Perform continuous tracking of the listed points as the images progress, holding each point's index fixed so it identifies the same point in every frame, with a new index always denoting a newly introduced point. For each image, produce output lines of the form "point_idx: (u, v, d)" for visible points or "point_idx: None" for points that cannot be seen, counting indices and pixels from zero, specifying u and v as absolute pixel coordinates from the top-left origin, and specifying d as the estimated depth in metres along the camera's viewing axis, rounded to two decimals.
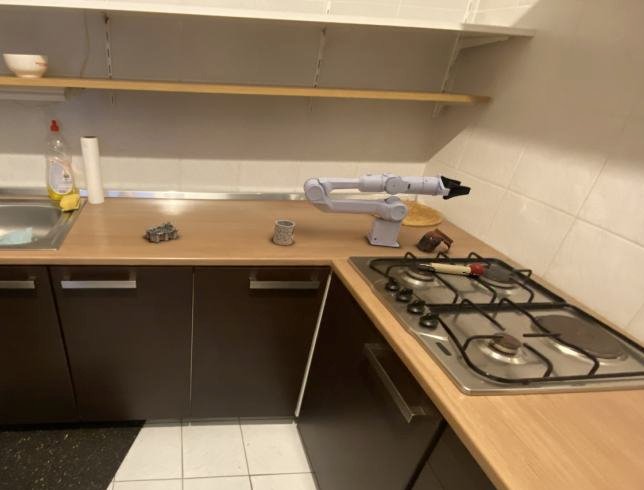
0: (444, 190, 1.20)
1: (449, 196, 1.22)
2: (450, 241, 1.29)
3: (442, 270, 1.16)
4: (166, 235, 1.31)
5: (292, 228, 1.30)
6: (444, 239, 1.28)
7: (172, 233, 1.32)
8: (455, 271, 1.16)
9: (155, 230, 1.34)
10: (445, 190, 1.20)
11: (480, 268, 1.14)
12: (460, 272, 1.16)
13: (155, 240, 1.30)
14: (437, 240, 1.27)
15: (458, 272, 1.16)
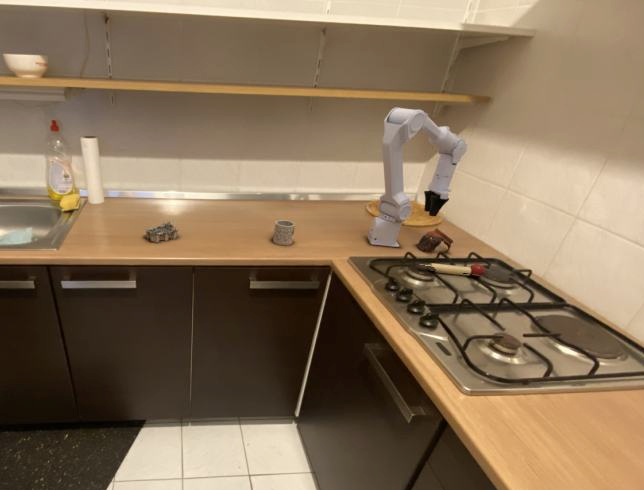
0: (447, 194, 1.28)
1: (435, 200, 1.32)
2: (450, 241, 1.29)
3: (442, 271, 1.16)
4: (166, 235, 1.31)
5: (292, 228, 1.30)
6: (444, 239, 1.28)
7: (172, 233, 1.32)
8: (455, 272, 1.16)
9: (155, 230, 1.34)
10: (447, 195, 1.28)
11: (480, 270, 1.13)
12: (460, 273, 1.16)
13: (155, 240, 1.30)
14: (437, 240, 1.27)
15: (458, 273, 1.16)
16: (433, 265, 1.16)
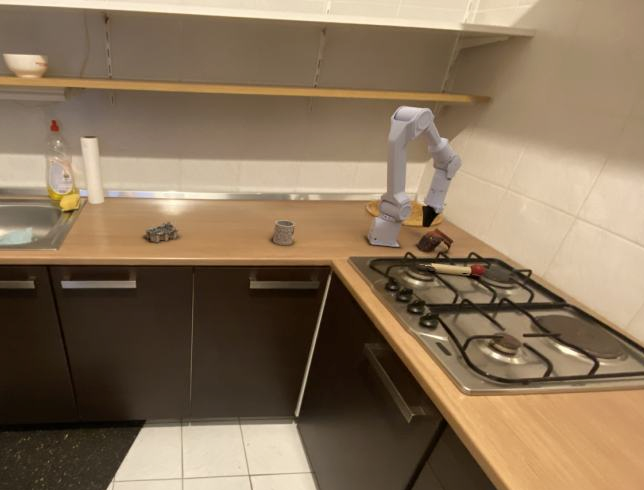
0: (442, 209, 1.30)
1: (428, 211, 1.36)
2: (450, 241, 1.29)
3: (442, 271, 1.16)
4: (166, 235, 1.31)
5: (292, 228, 1.30)
6: (444, 239, 1.28)
7: (172, 233, 1.32)
8: (455, 272, 1.15)
9: (155, 230, 1.34)
10: (442, 210, 1.31)
11: (480, 270, 1.13)
12: (460, 273, 1.16)
13: (155, 240, 1.30)
14: (437, 240, 1.27)
15: (458, 273, 1.16)
16: (433, 265, 1.16)
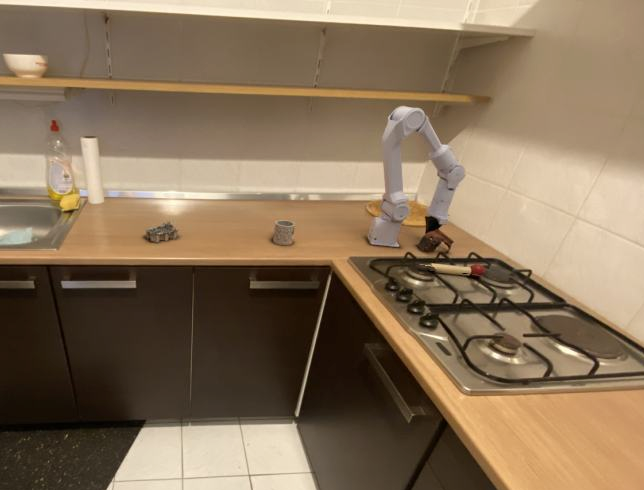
0: (446, 220, 1.27)
1: (431, 222, 1.33)
2: (450, 241, 1.28)
3: (442, 271, 1.16)
4: (166, 235, 1.31)
5: (292, 228, 1.30)
6: (444, 239, 1.28)
7: (172, 233, 1.32)
8: (455, 272, 1.15)
9: (155, 230, 1.34)
10: (445, 221, 1.27)
11: (480, 270, 1.13)
12: (460, 273, 1.16)
13: (155, 240, 1.30)
14: (437, 240, 1.26)
15: (458, 273, 1.16)
16: (433, 265, 1.16)
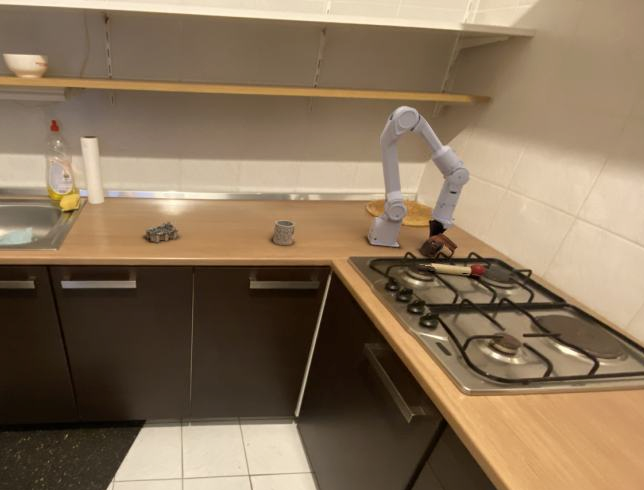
0: (451, 224, 1.23)
1: (435, 226, 1.29)
2: (453, 246, 1.24)
3: (442, 271, 1.16)
4: (166, 235, 1.31)
5: (292, 228, 1.30)
6: (446, 244, 1.24)
7: (172, 233, 1.32)
8: (455, 272, 1.15)
9: (155, 230, 1.34)
10: (450, 225, 1.23)
11: (480, 270, 1.13)
12: (460, 273, 1.16)
13: (155, 240, 1.30)
14: (438, 245, 1.23)
15: (458, 273, 1.16)
16: (433, 265, 1.16)
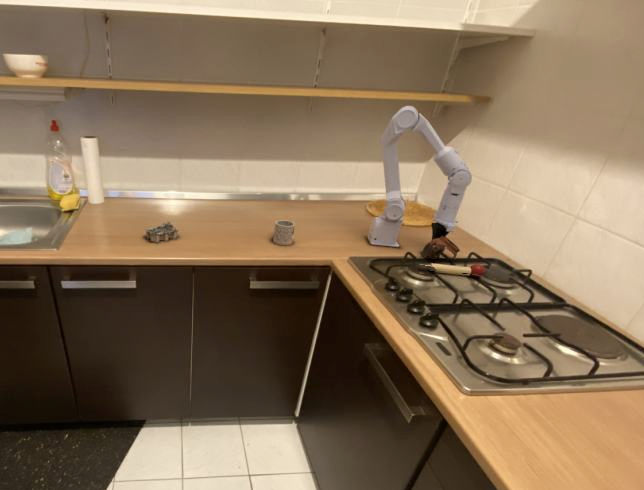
0: (454, 227, 1.21)
1: (438, 229, 1.26)
2: (455, 250, 1.22)
3: (442, 271, 1.16)
4: (166, 235, 1.31)
5: (292, 228, 1.30)
6: (448, 247, 1.22)
7: (172, 233, 1.32)
8: (455, 272, 1.15)
9: (155, 230, 1.34)
10: (453, 228, 1.21)
11: (480, 270, 1.13)
12: (460, 273, 1.16)
13: (155, 240, 1.30)
14: (439, 248, 1.21)
15: (458, 273, 1.16)
16: (433, 265, 1.16)
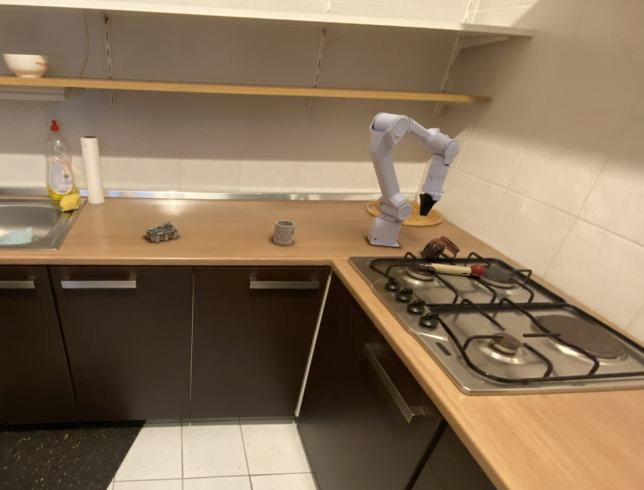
0: (439, 196, 1.26)
1: (425, 199, 1.32)
2: (455, 250, 1.22)
3: (442, 271, 1.16)
4: (166, 235, 1.31)
5: (292, 228, 1.30)
6: (448, 247, 1.22)
7: (172, 233, 1.32)
8: (455, 272, 1.15)
9: (155, 230, 1.34)
10: (439, 197, 1.26)
11: (480, 270, 1.13)
12: (460, 273, 1.16)
13: (155, 240, 1.30)
14: (439, 248, 1.21)
15: (458, 273, 1.16)
16: (433, 265, 1.16)
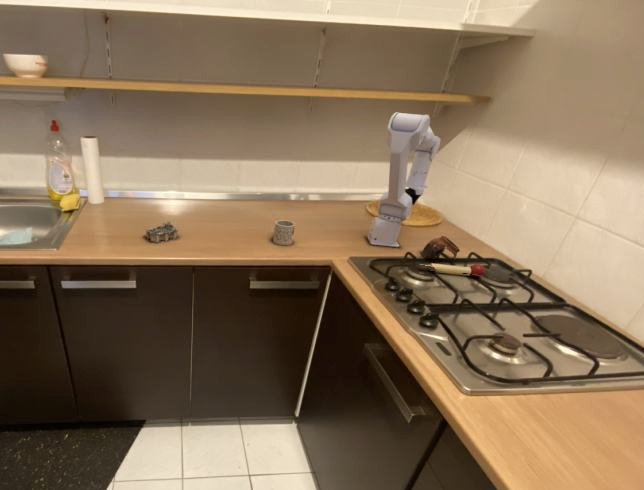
0: (422, 190, 1.32)
1: (409, 194, 1.37)
2: (455, 250, 1.22)
3: (442, 271, 1.16)
4: (166, 235, 1.31)
5: (292, 228, 1.30)
6: (448, 247, 1.22)
7: (172, 233, 1.32)
8: (455, 272, 1.15)
9: (155, 230, 1.34)
10: (422, 191, 1.32)
11: (480, 270, 1.13)
12: (460, 273, 1.16)
13: (155, 240, 1.30)
14: (439, 248, 1.21)
15: (458, 273, 1.16)
16: (433, 265, 1.16)
